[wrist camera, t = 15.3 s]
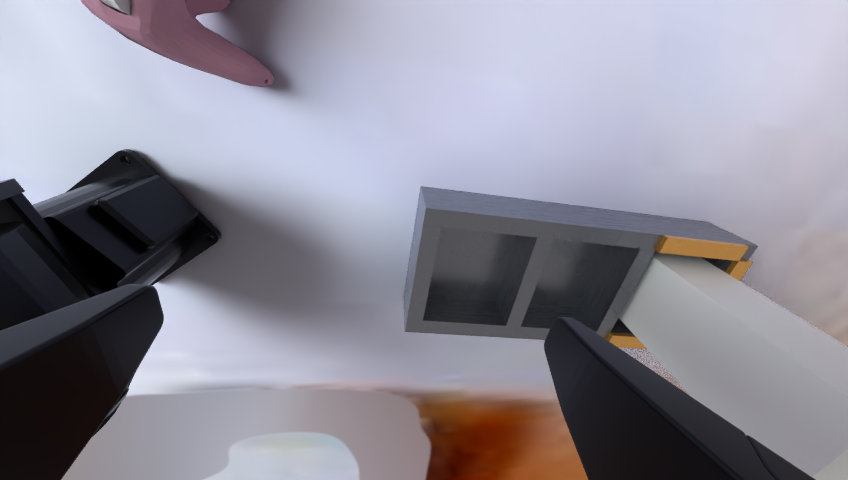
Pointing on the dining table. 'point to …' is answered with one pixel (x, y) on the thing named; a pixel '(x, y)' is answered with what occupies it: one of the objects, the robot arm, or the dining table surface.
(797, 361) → the light grey block
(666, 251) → the rack
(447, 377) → the dining table surface
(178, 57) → the video game controller
